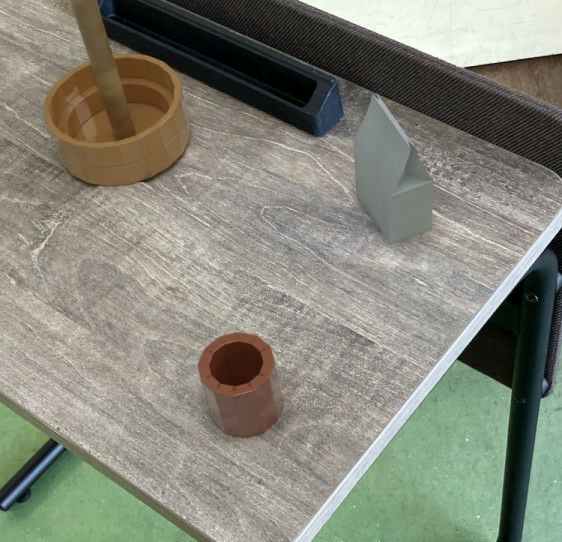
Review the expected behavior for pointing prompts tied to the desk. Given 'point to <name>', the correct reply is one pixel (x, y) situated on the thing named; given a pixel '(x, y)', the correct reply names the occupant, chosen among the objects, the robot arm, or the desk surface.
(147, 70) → the bowl
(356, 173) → the grey pointed block
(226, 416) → the holder
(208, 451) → the desk surface
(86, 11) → the stick
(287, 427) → the desk surface
